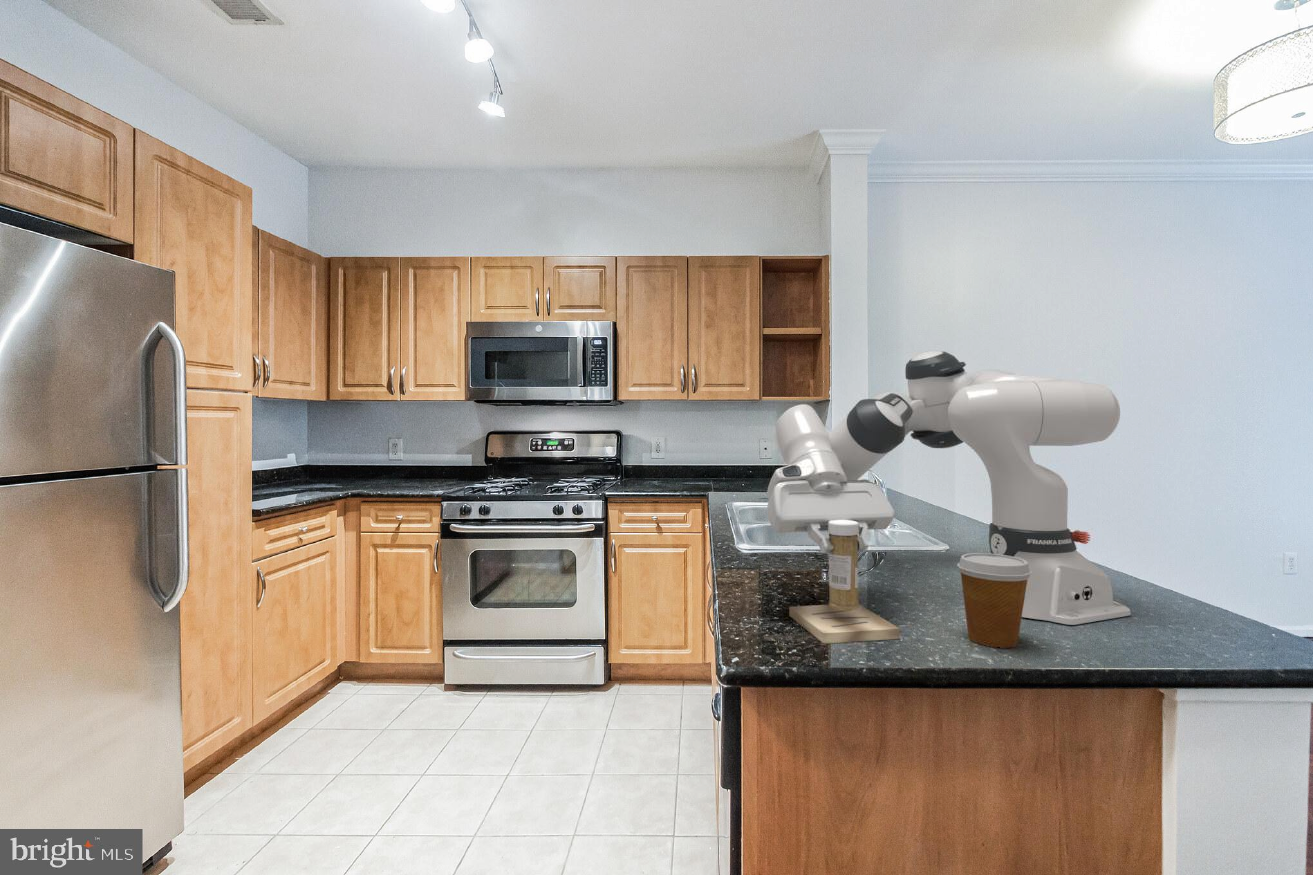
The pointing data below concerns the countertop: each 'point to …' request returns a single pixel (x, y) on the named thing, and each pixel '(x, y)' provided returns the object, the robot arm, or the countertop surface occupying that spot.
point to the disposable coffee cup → (993, 597)
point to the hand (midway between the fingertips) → (845, 550)
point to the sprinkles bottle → (843, 565)
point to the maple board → (843, 624)
